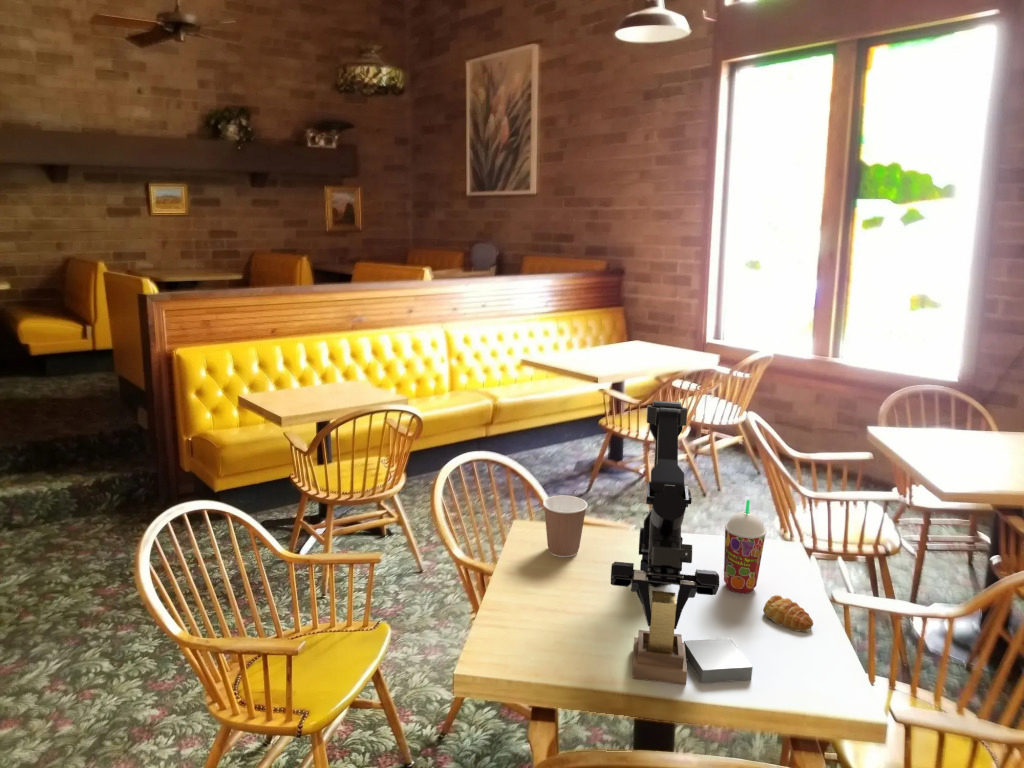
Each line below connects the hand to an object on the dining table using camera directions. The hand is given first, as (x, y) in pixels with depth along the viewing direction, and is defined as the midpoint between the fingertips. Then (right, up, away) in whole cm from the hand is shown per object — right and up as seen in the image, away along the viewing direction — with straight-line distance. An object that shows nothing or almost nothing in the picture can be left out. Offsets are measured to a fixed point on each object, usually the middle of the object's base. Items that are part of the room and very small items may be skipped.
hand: (662, 627), depth 131 cm
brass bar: (0, -5, +3) cm, 5 cm away
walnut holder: (0, -8, +3) cm, 9 cm away
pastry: (+29, -5, +20) cm, 35 cm away
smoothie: (+23, -2, +32) cm, 40 cm away
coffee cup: (-14, +2, +48) cm, 50 cm away
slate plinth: (+10, -8, +4) cm, 14 cm away
